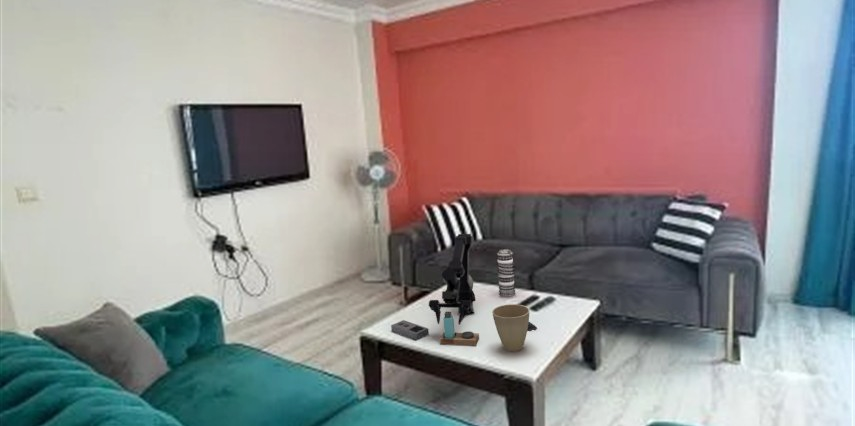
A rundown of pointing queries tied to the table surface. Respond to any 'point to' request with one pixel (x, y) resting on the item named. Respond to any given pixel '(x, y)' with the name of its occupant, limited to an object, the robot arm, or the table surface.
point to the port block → (410, 330)
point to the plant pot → (511, 325)
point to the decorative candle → (506, 274)
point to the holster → (461, 339)
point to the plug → (448, 325)
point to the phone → (531, 327)
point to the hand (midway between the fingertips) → (448, 324)
